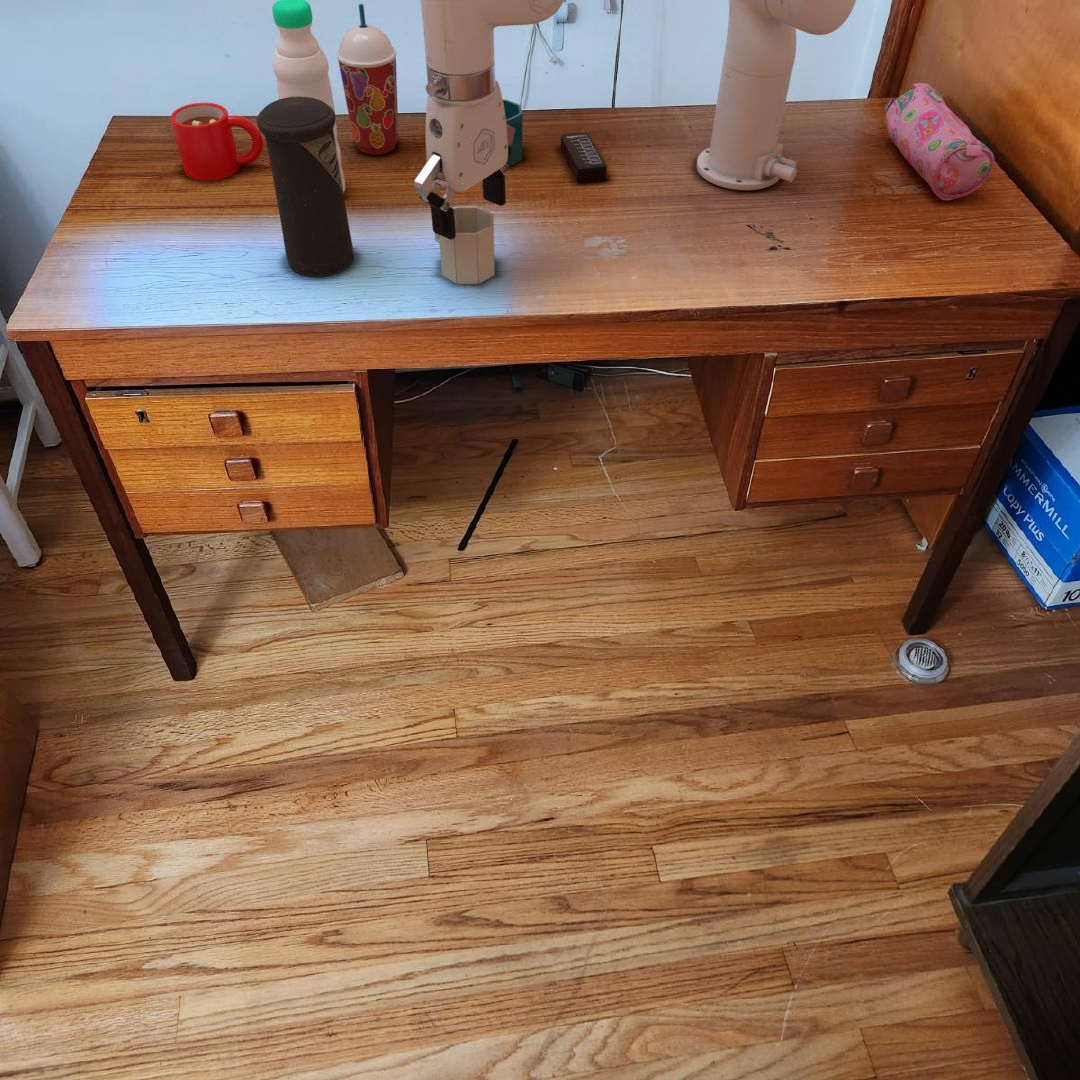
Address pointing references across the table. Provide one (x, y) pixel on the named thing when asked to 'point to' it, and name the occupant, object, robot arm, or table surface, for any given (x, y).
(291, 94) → the water bottle
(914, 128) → the pencil case
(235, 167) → the mug
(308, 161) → the container
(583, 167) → the multiport hub
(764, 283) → the table surface
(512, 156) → the cup far
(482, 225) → the cup near
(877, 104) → the table surface
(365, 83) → the smoothie
